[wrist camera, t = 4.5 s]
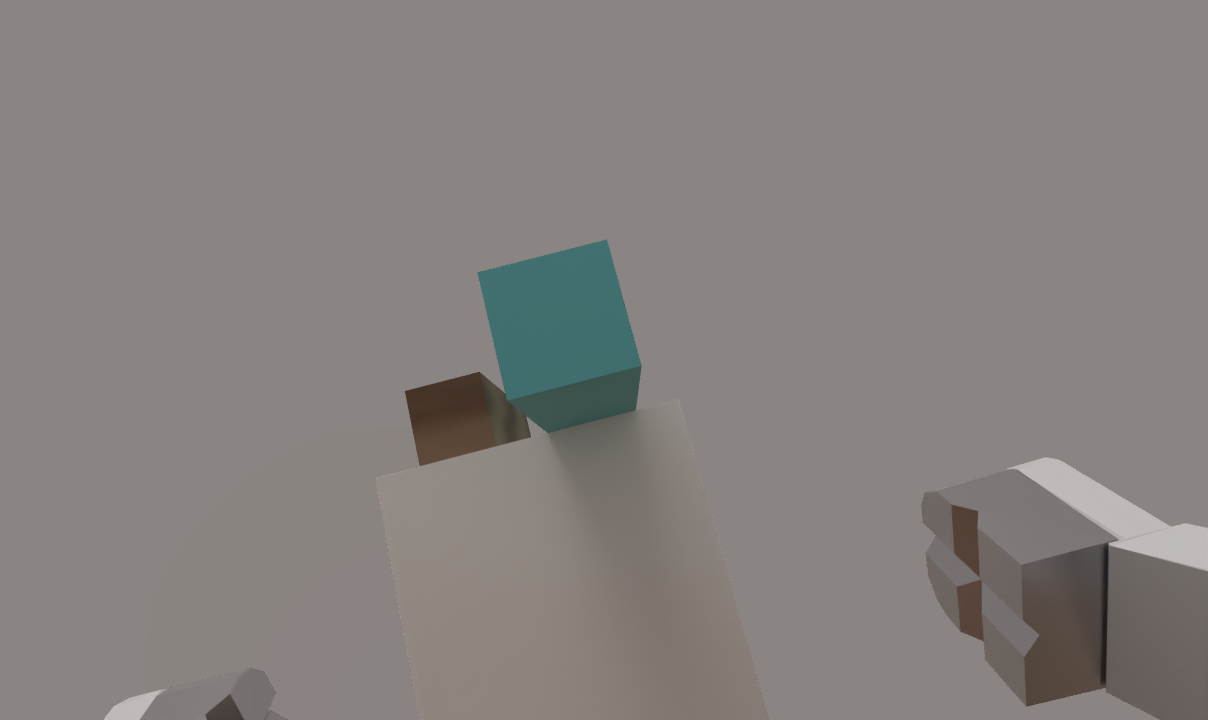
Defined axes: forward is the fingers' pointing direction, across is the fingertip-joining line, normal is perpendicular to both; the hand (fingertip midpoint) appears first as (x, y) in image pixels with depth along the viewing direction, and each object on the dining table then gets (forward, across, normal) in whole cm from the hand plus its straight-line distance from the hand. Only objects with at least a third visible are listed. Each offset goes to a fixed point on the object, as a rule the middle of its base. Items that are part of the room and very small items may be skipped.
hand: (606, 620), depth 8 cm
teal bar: (+20, 0, +6) cm, 20 cm away
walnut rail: (+22, +5, +8) cm, 24 cm away
